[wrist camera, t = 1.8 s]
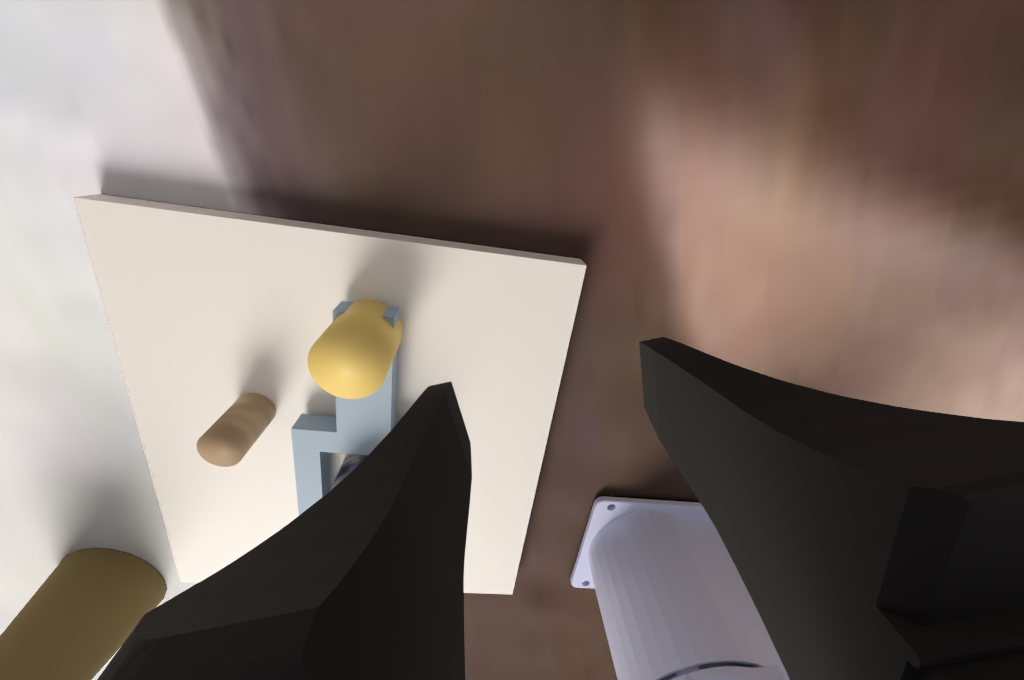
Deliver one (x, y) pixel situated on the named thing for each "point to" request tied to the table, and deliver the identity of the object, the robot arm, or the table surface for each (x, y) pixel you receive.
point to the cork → (79, 616)
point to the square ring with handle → (348, 392)
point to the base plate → (284, 354)
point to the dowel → (236, 430)
